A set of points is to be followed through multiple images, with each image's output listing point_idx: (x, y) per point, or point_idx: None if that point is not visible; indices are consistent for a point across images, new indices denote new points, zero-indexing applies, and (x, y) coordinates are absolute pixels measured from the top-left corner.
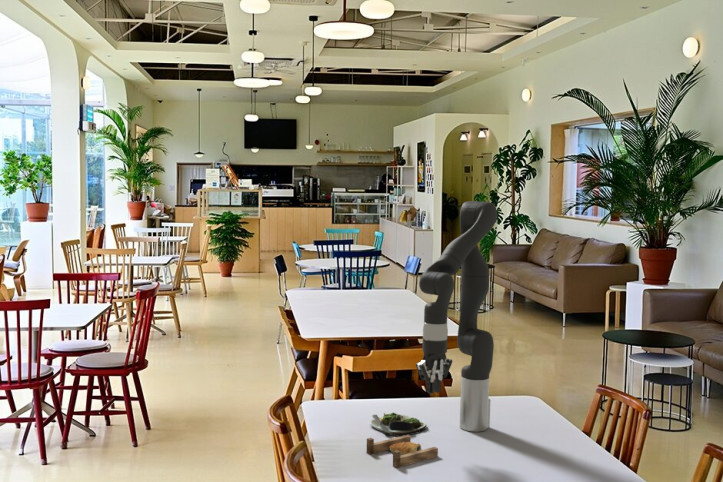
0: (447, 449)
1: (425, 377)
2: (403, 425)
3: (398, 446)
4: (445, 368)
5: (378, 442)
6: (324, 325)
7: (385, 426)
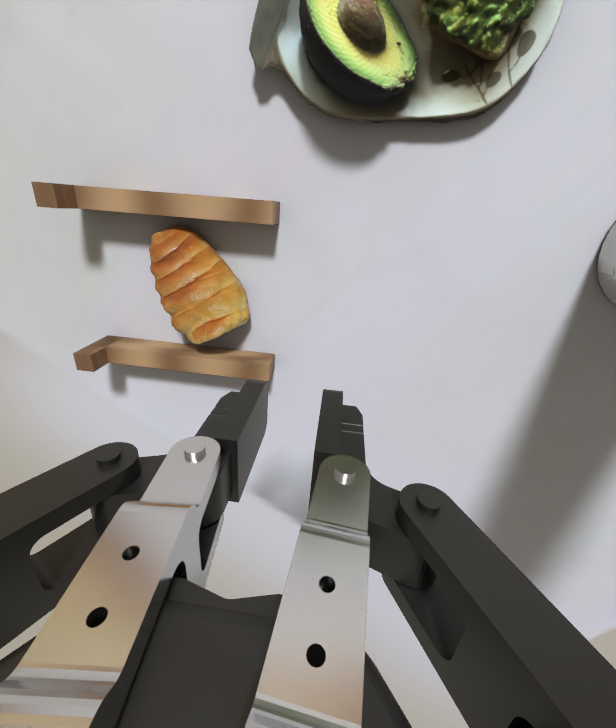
0: (348, 349)
1: (71, 550)
2: (339, 80)
3: (158, 282)
4: (457, 677)
5: (110, 193)
6: None
7: None
